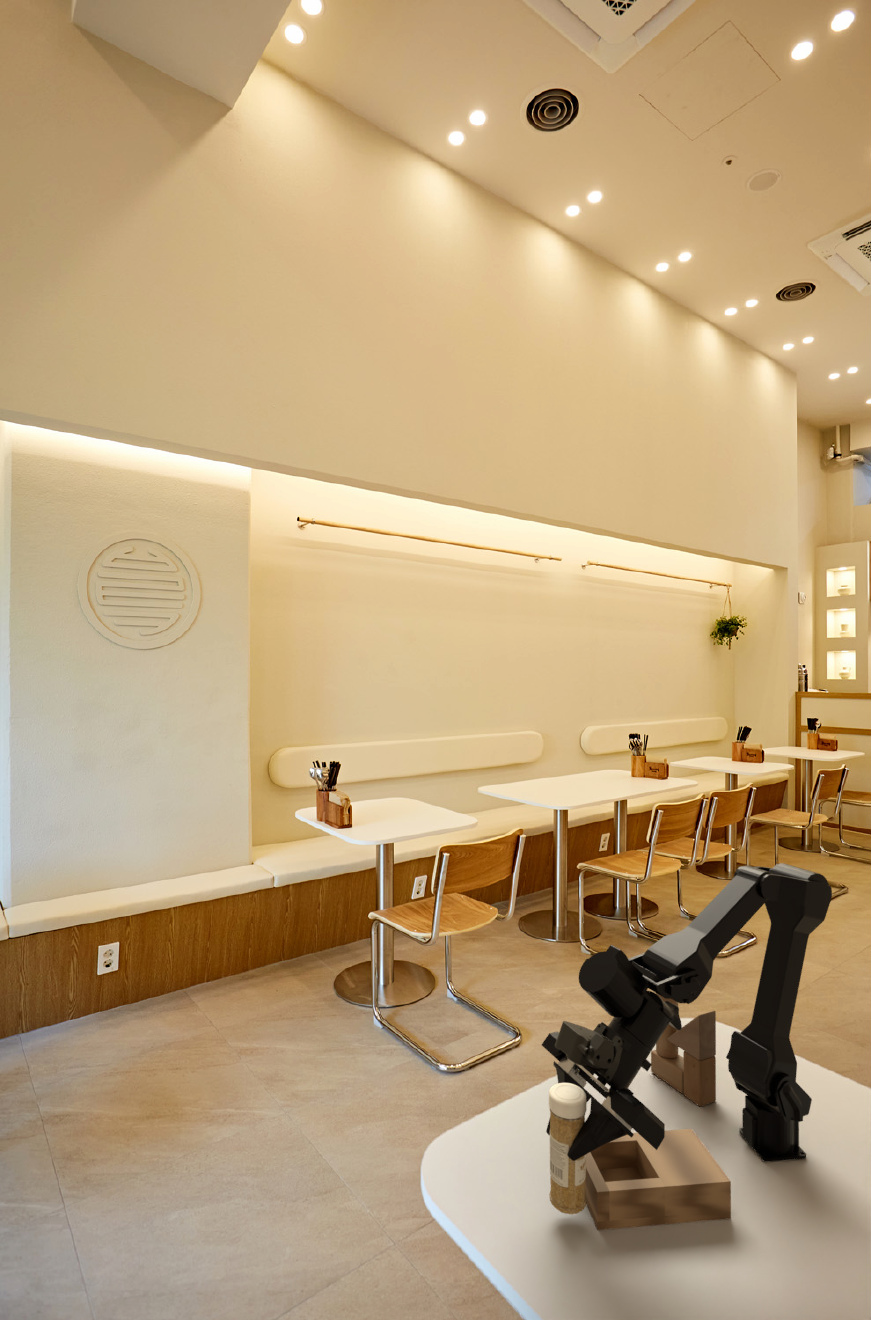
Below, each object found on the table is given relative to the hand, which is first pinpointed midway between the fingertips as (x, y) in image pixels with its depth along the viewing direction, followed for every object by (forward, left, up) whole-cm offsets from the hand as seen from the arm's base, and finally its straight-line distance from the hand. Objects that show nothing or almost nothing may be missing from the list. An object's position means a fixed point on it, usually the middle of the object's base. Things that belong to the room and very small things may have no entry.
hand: (559, 1146), depth 85 cm
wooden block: (-28, -25, -9) cm, 39 cm away
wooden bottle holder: (-13, -3, -9) cm, 16 cm away
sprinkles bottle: (-1, -1, -7) cm, 7 cm away
